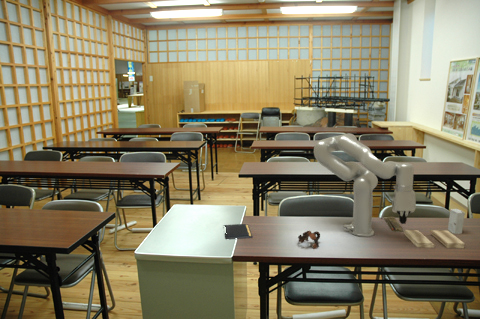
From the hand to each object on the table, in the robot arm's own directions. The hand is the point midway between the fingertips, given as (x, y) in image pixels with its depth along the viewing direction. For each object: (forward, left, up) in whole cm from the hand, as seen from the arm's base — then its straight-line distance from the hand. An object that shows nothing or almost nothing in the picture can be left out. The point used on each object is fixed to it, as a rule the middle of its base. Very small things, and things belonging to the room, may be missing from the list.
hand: (402, 222), depth 178 cm
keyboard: (+3, +22, -11) cm, 25 cm away
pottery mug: (-47, -6, -10) cm, 48 cm away
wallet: (-85, +10, -11) cm, 86 cm away
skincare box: (+33, +12, -10) cm, 36 cm away
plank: (+9, 0, -10) cm, 13 cm away
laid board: (+23, 0, -10) cm, 25 cm away
